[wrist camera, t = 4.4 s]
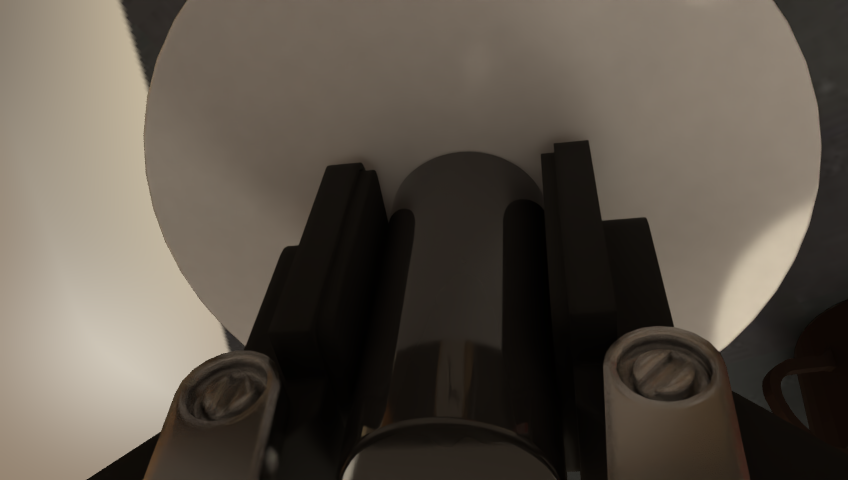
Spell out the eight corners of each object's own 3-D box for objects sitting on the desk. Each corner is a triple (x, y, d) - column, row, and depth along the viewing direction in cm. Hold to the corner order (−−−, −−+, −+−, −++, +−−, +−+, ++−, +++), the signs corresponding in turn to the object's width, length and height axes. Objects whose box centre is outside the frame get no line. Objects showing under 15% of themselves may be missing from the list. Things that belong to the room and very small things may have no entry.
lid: (41, 125, 14) (-240, 408, 9) (560, -369, 9) (632, -404, 4) (427, 454, 19) (395, 768, 13) (905, 238, 14) (1151, 594, 9)
